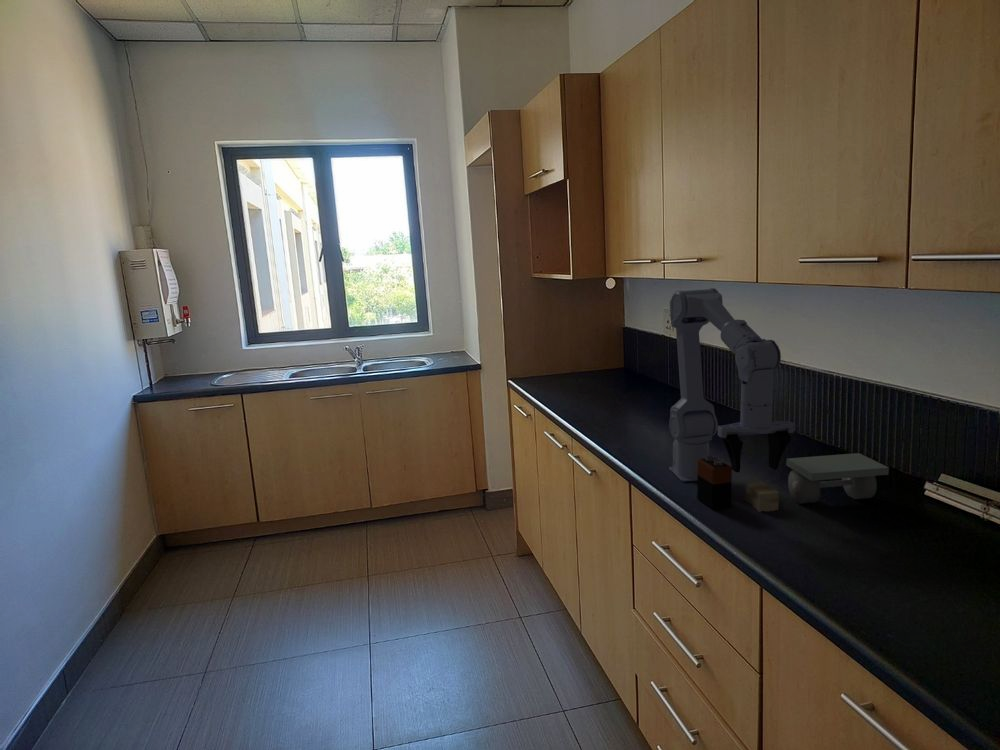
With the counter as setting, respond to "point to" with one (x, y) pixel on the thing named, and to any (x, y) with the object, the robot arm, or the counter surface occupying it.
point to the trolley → (833, 476)
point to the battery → (714, 482)
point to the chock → (762, 496)
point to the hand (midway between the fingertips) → (754, 469)
